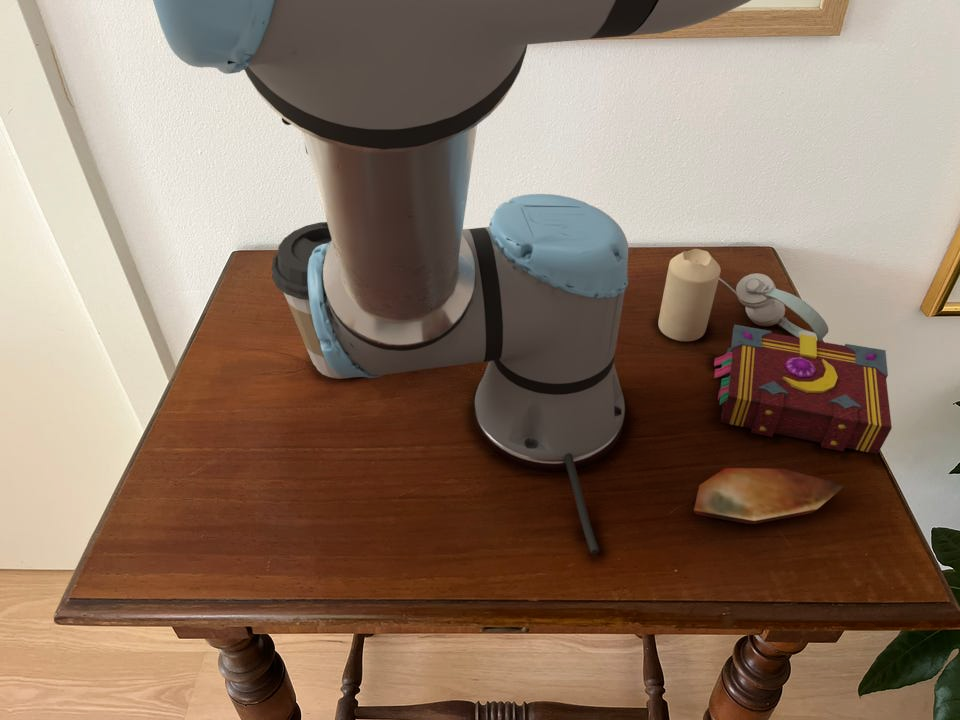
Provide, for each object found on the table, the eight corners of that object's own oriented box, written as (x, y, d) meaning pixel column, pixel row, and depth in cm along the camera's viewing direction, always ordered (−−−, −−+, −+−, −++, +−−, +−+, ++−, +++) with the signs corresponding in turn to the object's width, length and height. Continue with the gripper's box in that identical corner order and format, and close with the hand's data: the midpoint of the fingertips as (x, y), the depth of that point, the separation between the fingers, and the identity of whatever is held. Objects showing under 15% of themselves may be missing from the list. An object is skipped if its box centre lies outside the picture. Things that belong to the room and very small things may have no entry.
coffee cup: (401, 326, 86) (388, 215, 76) (389, 393, 78) (373, 279, 68) (306, 325, 86) (281, 215, 76) (284, 392, 78) (252, 278, 68)
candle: (693, 348, 82) (710, 276, 76) (649, 330, 85) (662, 258, 78) (713, 323, 86) (731, 252, 79) (670, 306, 88) (685, 236, 81)
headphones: (709, 270, 95) (842, 336, 80) (689, 293, 95) (819, 363, 80) (687, 232, 89) (826, 296, 75) (665, 256, 89) (801, 325, 75)
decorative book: (878, 460, 70) (896, 425, 66) (706, 425, 74) (715, 390, 70) (870, 380, 78) (887, 345, 74) (715, 352, 82) (724, 318, 78)
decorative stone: (864, 517, 62) (853, 542, 63) (842, 473, 66) (832, 498, 68) (697, 502, 62) (691, 527, 64) (687, 460, 67) (682, 484, 69)
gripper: (220, -12, 65) (270, 199, 79) (499, -18, 65) (498, 193, 79) (239, -35, 70) (282, 166, 85) (496, -40, 70) (495, 161, 85)
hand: (387, 180), depth 82 cm, fingers open, 13 cm apart
